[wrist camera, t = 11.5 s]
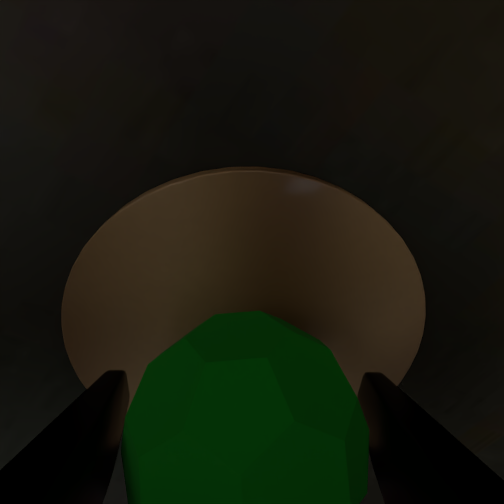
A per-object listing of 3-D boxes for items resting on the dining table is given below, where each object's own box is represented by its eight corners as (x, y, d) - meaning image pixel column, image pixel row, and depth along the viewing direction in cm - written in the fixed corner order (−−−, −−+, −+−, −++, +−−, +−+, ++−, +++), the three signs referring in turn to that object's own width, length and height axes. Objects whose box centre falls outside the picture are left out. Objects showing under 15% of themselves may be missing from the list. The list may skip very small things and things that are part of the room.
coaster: (97, 445, 11) (93, 457, 11) (25, 154, 7) (14, 157, 7) (374, 444, 12) (378, 455, 12) (472, 177, 8) (484, 181, 7)
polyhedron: (349, 380, 10) (435, 602, 6) (203, 425, 11) (180, 654, 6) (299, 244, 8) (377, 438, 3) (118, 312, 8) (-2, 543, 4)
